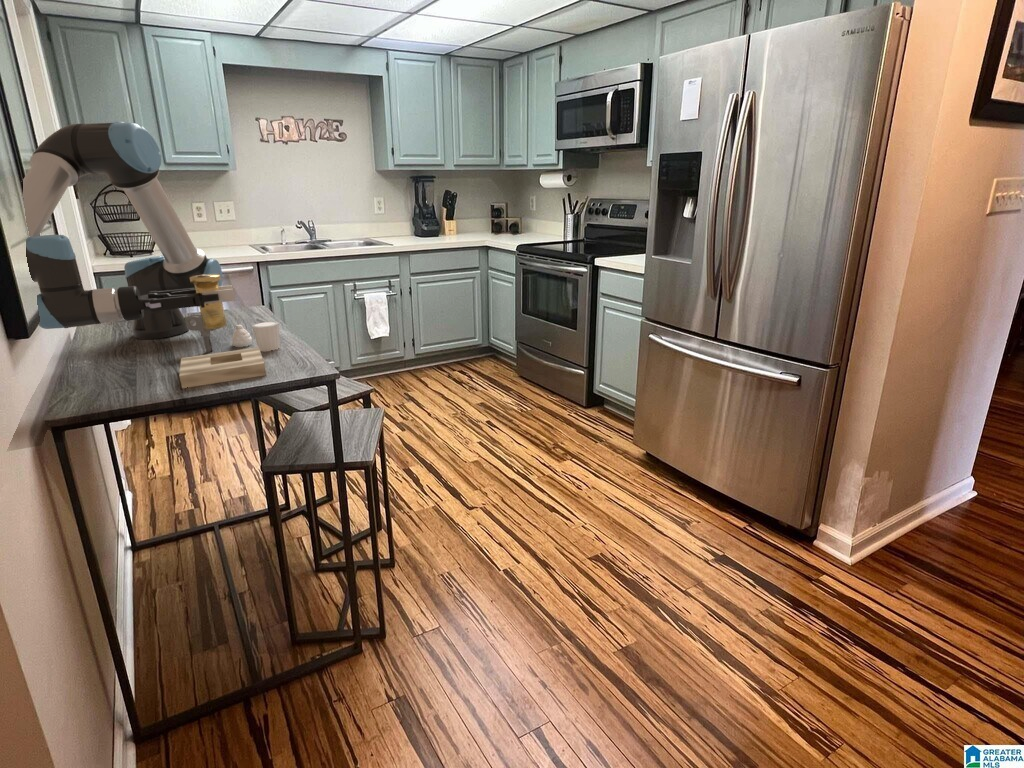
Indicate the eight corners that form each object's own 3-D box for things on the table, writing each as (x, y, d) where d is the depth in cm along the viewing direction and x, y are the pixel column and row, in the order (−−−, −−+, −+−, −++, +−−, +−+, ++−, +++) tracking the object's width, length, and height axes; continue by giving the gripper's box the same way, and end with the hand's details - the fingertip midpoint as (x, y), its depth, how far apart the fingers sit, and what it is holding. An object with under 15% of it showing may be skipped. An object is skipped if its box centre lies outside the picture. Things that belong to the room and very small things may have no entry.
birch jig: (183, 369, 149) (181, 358, 148) (260, 358, 156) (258, 347, 155) (182, 388, 135) (179, 375, 134) (266, 375, 143) (264, 363, 142)
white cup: (284, 344, 169) (280, 320, 167) (280, 351, 162) (275, 326, 160) (259, 346, 168) (254, 321, 165) (253, 352, 161) (248, 327, 159)
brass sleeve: (200, 325, 144) (189, 275, 140) (229, 321, 147) (219, 272, 143) (200, 331, 139) (189, 279, 135) (230, 327, 141) (220, 276, 137)
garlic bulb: (236, 322, 171) (253, 322, 170) (239, 342, 173) (257, 342, 172) (224, 327, 166) (242, 327, 165) (228, 347, 168) (246, 348, 167)
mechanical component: (222, 353, 162) (215, 317, 158) (189, 352, 164) (181, 316, 160) (229, 350, 164) (222, 315, 161) (196, 349, 166) (189, 314, 163)
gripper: (128, 313, 142) (235, 301, 151) (119, 329, 127) (238, 315, 136) (121, 281, 139) (229, 272, 149) (110, 294, 124) (232, 282, 133)
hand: (233, 292), depth 142 cm, fingers closed on brass sleeve, 5 cm apart
